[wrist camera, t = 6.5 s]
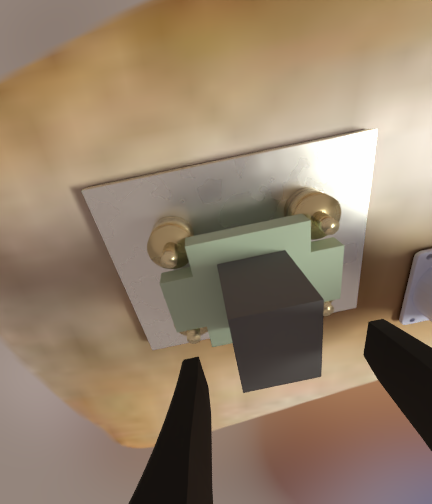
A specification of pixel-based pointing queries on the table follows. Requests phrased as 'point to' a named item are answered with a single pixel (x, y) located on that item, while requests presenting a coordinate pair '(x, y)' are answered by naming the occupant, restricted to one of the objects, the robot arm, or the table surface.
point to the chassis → (233, 215)
